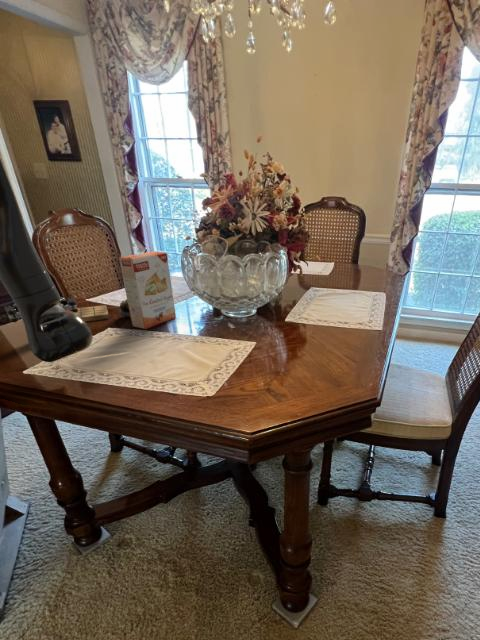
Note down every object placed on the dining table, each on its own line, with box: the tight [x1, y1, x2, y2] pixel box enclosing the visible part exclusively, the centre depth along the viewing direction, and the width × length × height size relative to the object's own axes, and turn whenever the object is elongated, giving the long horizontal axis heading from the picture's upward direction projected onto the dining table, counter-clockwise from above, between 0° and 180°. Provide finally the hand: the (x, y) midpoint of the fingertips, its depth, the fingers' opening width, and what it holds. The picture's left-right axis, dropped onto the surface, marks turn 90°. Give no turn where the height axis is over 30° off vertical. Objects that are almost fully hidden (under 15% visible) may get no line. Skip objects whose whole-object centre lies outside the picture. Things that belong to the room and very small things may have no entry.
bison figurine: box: [119, 298, 131, 318], centre depth 125 cm, size 12×7×10 cm, turn 76°
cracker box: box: [118, 251, 177, 330], centre depth 117 cm, size 14×6×21 cm, turn 155°
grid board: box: [65, 304, 110, 322], centre depth 127 cm, size 16×12×2 cm
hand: (39, 302), depth 95 cm, fingers open, 8 cm apart
